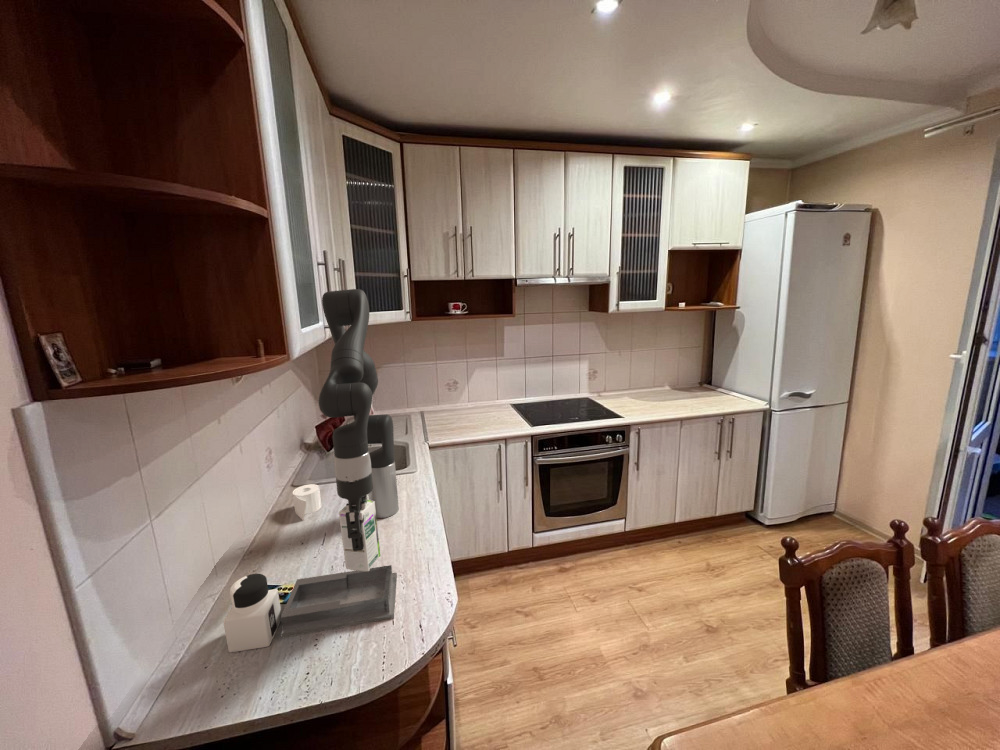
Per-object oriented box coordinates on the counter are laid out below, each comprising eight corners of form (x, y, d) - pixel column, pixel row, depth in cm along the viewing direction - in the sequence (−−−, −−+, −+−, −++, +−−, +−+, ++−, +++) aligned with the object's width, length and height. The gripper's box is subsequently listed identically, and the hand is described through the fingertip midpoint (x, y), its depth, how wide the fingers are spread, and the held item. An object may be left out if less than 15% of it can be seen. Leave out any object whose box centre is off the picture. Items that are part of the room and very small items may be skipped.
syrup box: (368, 572, 89) (362, 512, 87) (344, 569, 91) (338, 510, 88) (380, 556, 95) (375, 499, 92) (358, 554, 96) (352, 497, 93)
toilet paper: (303, 521, 130) (300, 501, 128) (291, 508, 138) (289, 490, 136) (328, 511, 135) (326, 492, 134) (316, 500, 143) (313, 482, 142)
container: (282, 618, 90) (274, 566, 87) (269, 647, 82) (260, 591, 80) (245, 623, 89) (236, 571, 86) (228, 653, 81) (217, 597, 79)
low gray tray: (300, 591, 98) (298, 576, 97) (396, 575, 103) (395, 562, 102) (281, 637, 85) (279, 621, 84) (394, 617, 89) (392, 602, 88)
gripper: (341, 461, 95) (348, 525, 98) (328, 488, 81) (337, 562, 84) (374, 458, 96) (380, 521, 99) (367, 484, 82) (374, 556, 85)
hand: (360, 539), depth 92 cm, fingers closed on syrup box, 7 cm apart
